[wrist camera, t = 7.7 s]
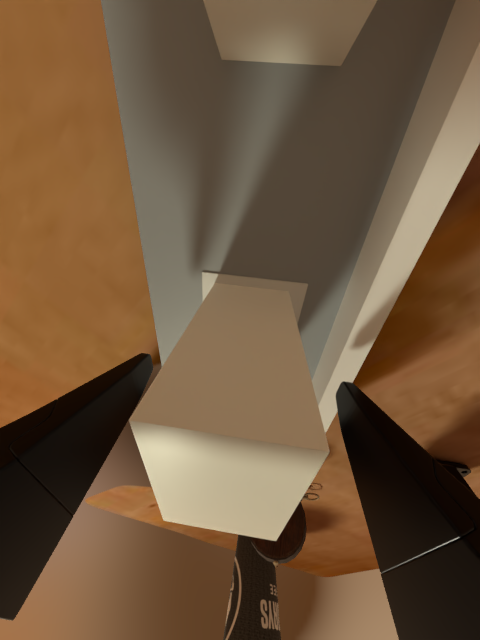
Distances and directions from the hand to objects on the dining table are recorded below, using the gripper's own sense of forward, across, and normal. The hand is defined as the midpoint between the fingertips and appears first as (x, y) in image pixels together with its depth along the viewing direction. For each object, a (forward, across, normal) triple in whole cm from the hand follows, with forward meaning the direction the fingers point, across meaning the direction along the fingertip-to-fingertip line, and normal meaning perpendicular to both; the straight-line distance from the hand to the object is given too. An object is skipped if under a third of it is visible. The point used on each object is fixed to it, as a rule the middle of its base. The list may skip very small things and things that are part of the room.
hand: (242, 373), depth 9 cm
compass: (+5, -7, +24) cm, 25 cm away
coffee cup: (+5, -6, +47) cm, 48 cm away
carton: (+3, 0, 0) cm, 3 cm away
